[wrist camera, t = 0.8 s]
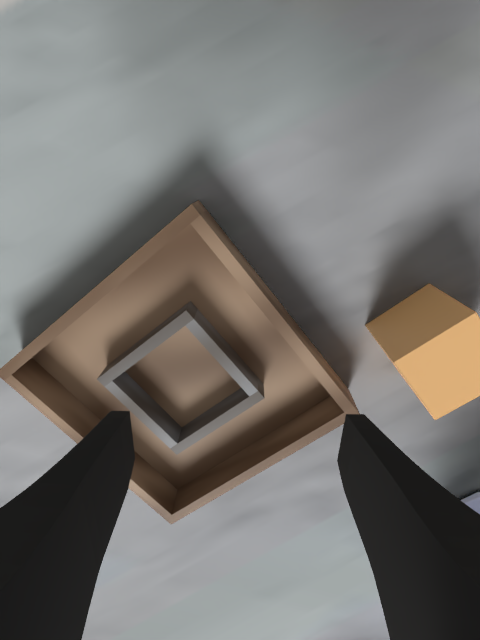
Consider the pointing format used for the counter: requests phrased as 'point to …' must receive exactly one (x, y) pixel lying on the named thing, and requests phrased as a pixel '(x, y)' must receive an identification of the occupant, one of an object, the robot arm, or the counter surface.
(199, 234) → the box
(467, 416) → the counter surface
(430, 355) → the plug
